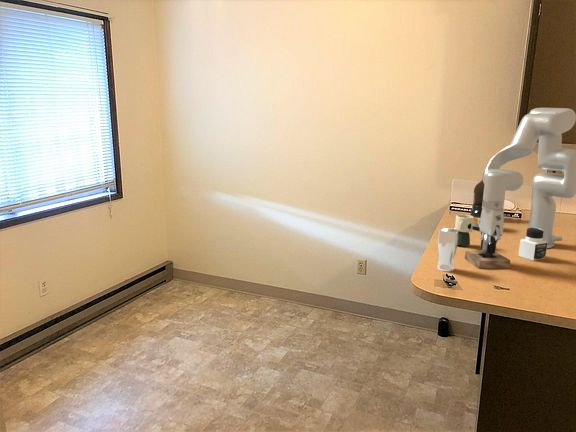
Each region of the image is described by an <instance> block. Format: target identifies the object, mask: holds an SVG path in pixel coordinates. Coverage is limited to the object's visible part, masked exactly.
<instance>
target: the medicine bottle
mask: <svg viewBox="0 0 576 432" xmlns="http://www.w3.org/2000/svg"><path fill="white" fill-rule="evenodd" d="M543 233H544V231H543V230H542V229H539V228H529V227H528V228H527V229H526V235H525V238H521V239H520V241H519V248H518V257H519V258H520V257H521V258H524V259H527V260H529V261H532V262H535V261H539V260H545V259H546V256H547V249H548V248H547V242H546V241H543ZM526 238H527V239H526Z"/></svg>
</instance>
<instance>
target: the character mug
mask: <svg viewBox="0 0 576 432" xmlns="http://www.w3.org/2000/svg"><path fill="white" fill-rule="evenodd" d="M470 215H471V214H456V215H455V225H454V229H457V230H458V245H459V246H460V247H469V246H470V245H471V242H470V241H471V238H470V237H471V235H470V233H471V232H472V231H473V229H472V228H473V219H474V217H473V216H470ZM458 245H457V246H458Z"/></svg>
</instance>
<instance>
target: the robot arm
mask: <svg viewBox="0 0 576 432" xmlns="http://www.w3.org/2000/svg"><path fill="white" fill-rule="evenodd" d="M575 124H576V112H575V111H574V110H573V109H572V108H567V107H566V108H565V107H536V108H533V109H531V110H530V111H529V113H527V114H525V115H524V116H523V117H522V119H520V122H519V125H518V127H517V128H516V131H515V133H514V134H513V137H512V138H511V141H510V144H508V145H507V146H506V147H503V148H501V150H500V151H498V152H496V154H494V155H493V156H492V157H491V158H490V160H489V161H488V164H487V165H486V167H485V170H484V172H483V173H484V175H483V174H482V179H483V183H484V194H483V202H482V212H481V218H480V227H479V228H480V231H479V232H480V235H481V237H480V239H481V241H480V251H482V246H483V237H484V233H485V234H487V235H489V243H487V252H486V253H487V254H494V253H495V251H496V248H497V244H498V241H500V240H501V237H502V236H503V234H504V228H505V227H504V222H505V214H504V207H505V198H506V191H510V192H513V191H517V190H519V189H521V187H522V186H523V184H524V177H523V175H522V174H521V173H520V172H519V171H517V170H509V169H503V168H501V167H503V166H504V165H505V164H507V163H509V162H512V161H515V160H518V159H521V158H525V157H528V156H530V155H531V154H532V153H533V151H534V149H535V146H536V144H537V142H538V147H537V166H538V168H539V169H541V170H544V171H550V172H539V173H536V174H535V175H534V176H533V178H532V180H531V189H532V190H531V193H532V194H531V195H532V196H531V207H530V214H529V215H530V216H529V222H528V228H539V229H542V230H543V231H544V233H543V241H546V242H547V249H552V248H555V246H556V243H555V242H556V241H557V242H562V241H563V237H562V236H559V235H558V236H556V235H554V234H553V233H554V224H555V217H556V211H557V204H556V202H555V199H554V198H553V197H556V198H561V199H562V198H564V199H572V198H575V196H576V149H573V148H563V147H562V144H563V143H562V142H563V141H562V140H563V138H562V137H563V135H562V134H564V133H566V132H568V131H570V130H571V129H572V128H574V125H575ZM552 172H553V173H552ZM554 172H560V173H554ZM561 172H562V173H563V174H562V173H561ZM493 234H495V235H493ZM492 237H494V238H492ZM525 239H527V238H526V237H525Z"/></svg>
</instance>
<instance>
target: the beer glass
mask: <svg viewBox="0 0 576 432" xmlns="http://www.w3.org/2000/svg"><path fill="white" fill-rule="evenodd" d="M457 248H458V230H457V229H455V228H452V227H440V228H439V232H438V237H437V250H438V253H437V254H438V262H437V265H436V269H437V270H438V271H440V272H446V273H447V272H450V273H451V272H454V270H455V266H454V265H455V264H454V260H455V257H456V256H455V255H456V252H457Z"/></svg>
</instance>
